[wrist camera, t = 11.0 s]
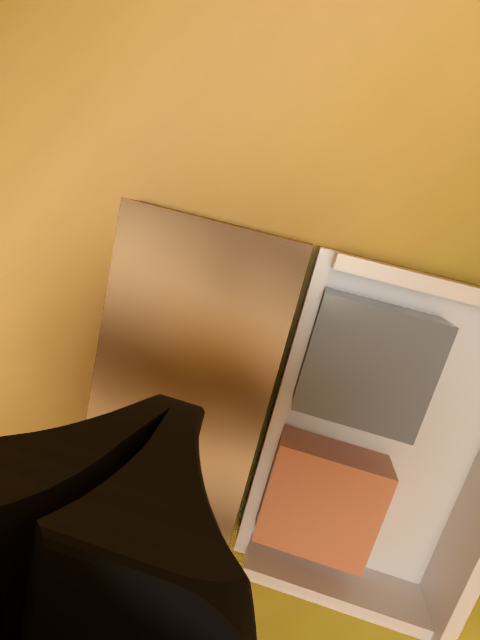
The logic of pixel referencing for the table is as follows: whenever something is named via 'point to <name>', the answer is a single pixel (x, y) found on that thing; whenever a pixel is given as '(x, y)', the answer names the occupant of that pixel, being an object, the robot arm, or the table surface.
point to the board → (198, 331)
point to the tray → (410, 466)
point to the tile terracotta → (325, 500)
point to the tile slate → (372, 365)
